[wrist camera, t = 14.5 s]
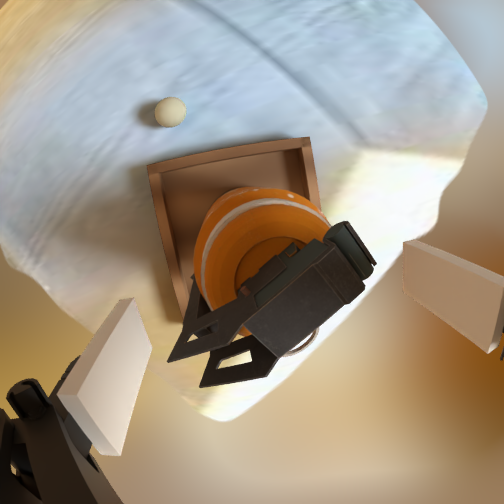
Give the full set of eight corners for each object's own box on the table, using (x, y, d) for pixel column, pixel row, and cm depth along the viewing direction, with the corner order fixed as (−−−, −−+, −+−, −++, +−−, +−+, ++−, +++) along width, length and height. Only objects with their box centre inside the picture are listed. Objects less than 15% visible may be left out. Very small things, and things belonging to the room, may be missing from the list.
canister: (306, 233, 30) (430, 310, 11) (228, 300, 31) (248, 450, 12) (251, 168, 28) (322, 137, 9) (170, 240, 29) (96, 342, 9)
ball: (156, 105, 26) (149, 97, 23) (185, 98, 26) (182, 89, 23) (160, 133, 27) (153, 127, 24) (190, 126, 27) (186, 119, 24)
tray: (152, 166, 28) (146, 165, 25) (301, 140, 29) (309, 136, 26) (189, 324, 32) (187, 335, 29) (323, 295, 33) (330, 304, 31)
